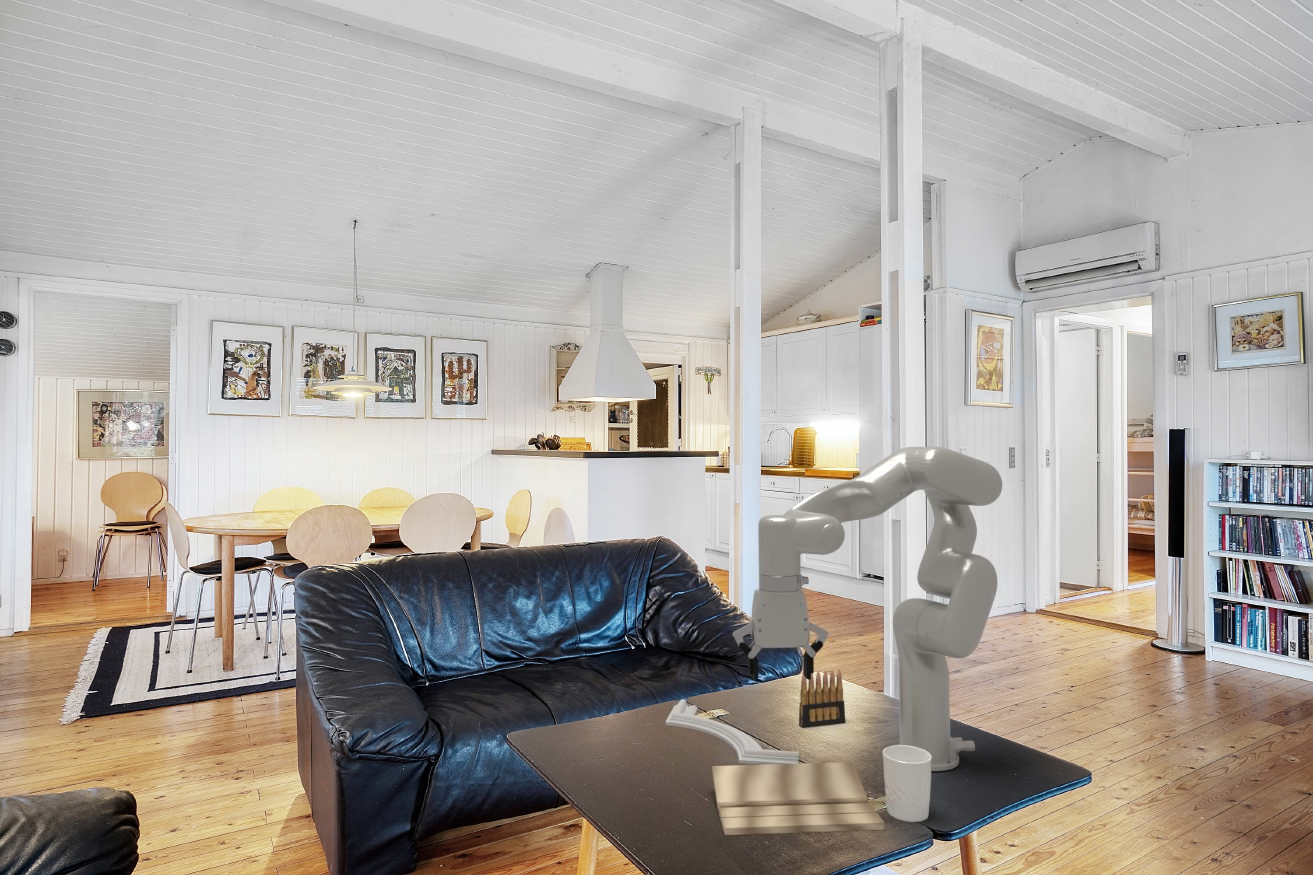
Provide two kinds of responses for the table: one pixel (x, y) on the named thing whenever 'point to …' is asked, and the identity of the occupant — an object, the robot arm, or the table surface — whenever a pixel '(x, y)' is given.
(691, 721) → the molding
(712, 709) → the table surface
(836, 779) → the plank
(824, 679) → the ammunition clip
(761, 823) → the laid board
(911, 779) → the white cup
